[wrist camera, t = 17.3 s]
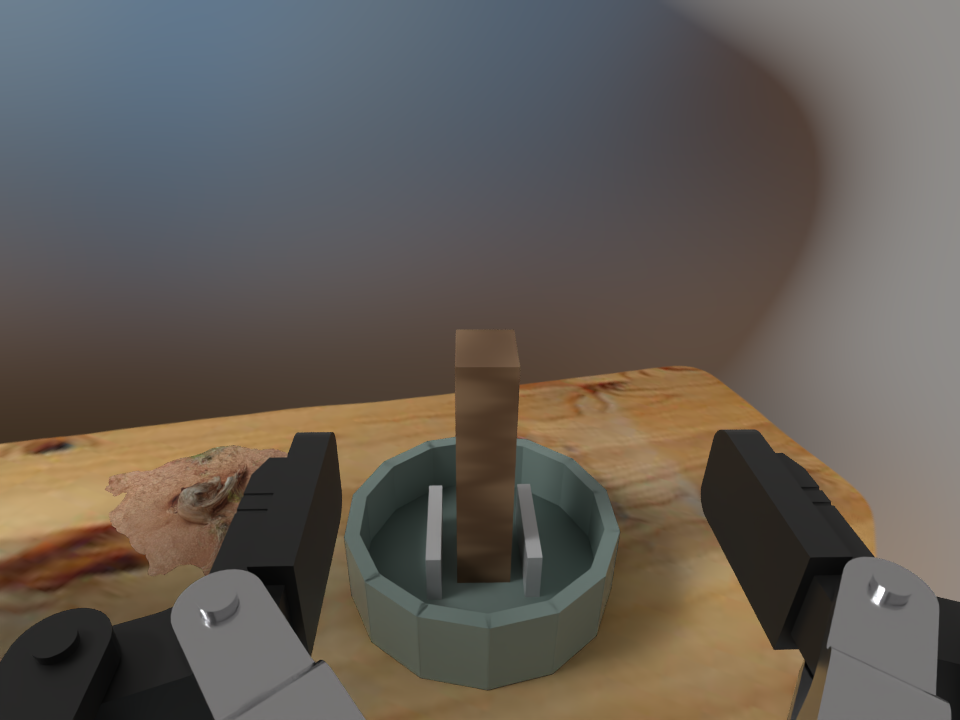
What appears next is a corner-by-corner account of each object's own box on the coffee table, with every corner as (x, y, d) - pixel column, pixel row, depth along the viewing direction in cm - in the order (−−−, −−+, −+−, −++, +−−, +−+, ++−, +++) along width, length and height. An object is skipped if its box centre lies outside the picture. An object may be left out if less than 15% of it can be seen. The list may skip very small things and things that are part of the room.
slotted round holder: (333, 695, 30) (323, 633, 28) (370, 487, 44) (365, 435, 41) (638, 685, 31) (651, 624, 29) (581, 483, 44) (587, 432, 42)
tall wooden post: (457, 582, 35) (454, 367, 28) (457, 532, 38) (456, 329, 32) (510, 582, 35) (520, 366, 28) (505, 531, 39) (514, 329, 32)
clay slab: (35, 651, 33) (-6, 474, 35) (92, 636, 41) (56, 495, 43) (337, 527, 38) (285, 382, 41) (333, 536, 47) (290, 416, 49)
